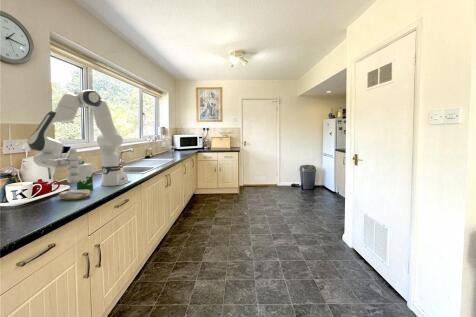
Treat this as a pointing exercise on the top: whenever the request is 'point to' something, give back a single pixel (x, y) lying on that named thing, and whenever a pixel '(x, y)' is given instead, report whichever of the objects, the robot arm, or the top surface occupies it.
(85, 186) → the milk carton
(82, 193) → the disc
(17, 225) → the top surface
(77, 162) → the plastic bottle
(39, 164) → the robot arm
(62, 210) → the top surface
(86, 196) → the turntable base
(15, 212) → the top surface
